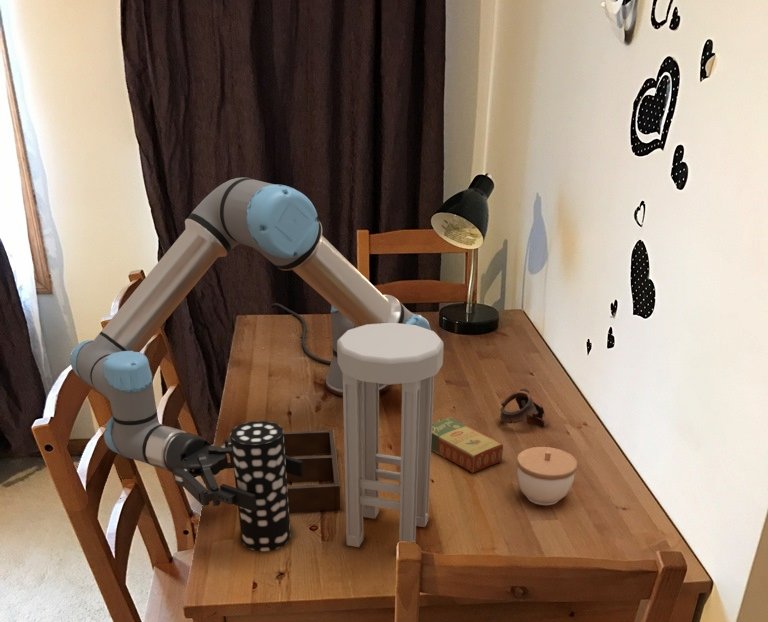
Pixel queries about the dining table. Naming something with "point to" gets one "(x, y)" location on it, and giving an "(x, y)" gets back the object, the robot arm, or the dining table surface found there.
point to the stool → (360, 404)
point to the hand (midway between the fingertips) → (279, 485)
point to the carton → (464, 445)
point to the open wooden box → (313, 471)
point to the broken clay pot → (522, 407)
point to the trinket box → (545, 474)
